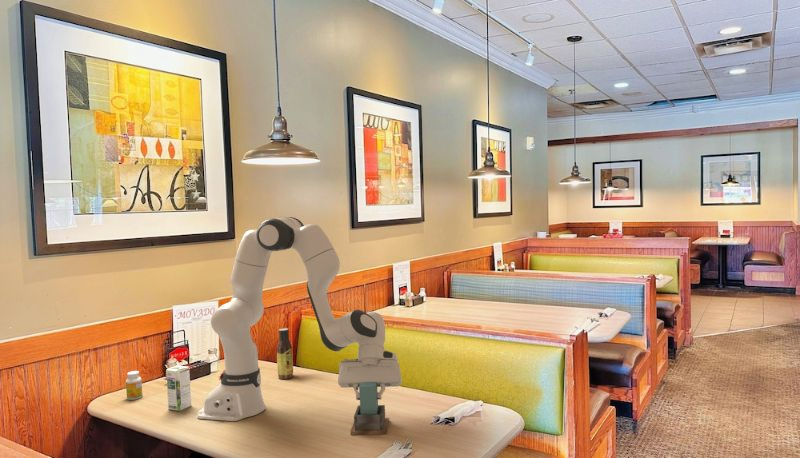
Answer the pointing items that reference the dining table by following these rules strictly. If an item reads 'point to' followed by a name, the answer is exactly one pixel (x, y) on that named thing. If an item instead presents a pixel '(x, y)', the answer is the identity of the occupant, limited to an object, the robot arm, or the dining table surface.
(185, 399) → the syrup box
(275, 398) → the dining table surface
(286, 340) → the sauce bottle
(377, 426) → the box
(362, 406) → the teal block
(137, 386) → the supplement bottle
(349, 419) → the dining table surface
